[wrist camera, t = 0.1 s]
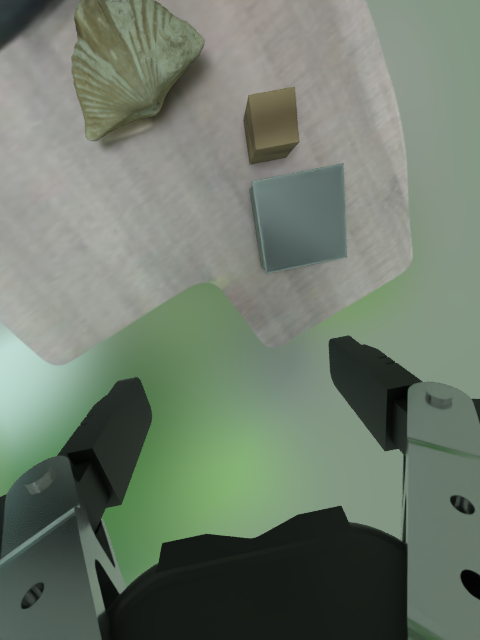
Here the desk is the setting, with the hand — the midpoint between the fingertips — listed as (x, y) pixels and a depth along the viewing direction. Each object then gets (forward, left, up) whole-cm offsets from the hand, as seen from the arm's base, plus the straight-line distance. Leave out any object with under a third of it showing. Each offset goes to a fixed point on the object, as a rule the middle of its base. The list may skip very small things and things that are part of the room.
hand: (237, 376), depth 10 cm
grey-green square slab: (-5, +11, -29) cm, 32 cm away
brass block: (-16, +9, -29) cm, 35 cm away
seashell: (-24, -6, -29) cm, 38 cm away
